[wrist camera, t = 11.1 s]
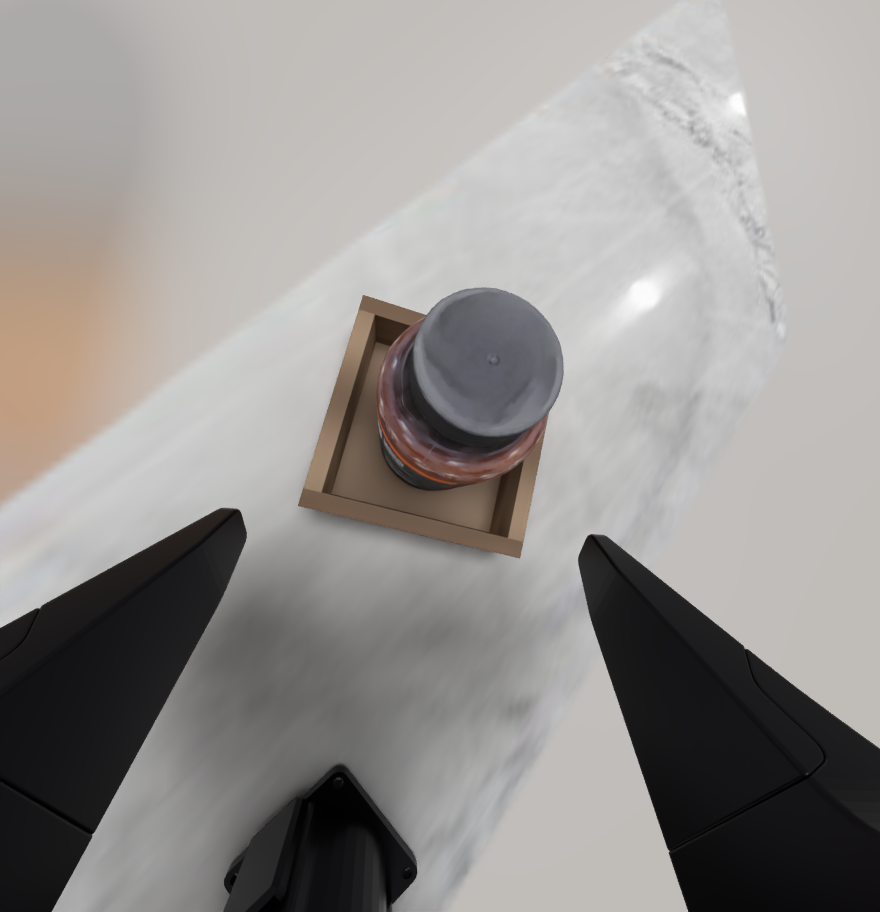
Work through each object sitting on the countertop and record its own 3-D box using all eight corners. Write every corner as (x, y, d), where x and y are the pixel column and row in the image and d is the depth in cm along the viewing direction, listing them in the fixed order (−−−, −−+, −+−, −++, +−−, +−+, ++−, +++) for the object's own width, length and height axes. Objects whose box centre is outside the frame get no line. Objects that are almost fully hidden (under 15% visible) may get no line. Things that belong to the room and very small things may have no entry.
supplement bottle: (496, 414, 20) (631, 313, 9) (459, 508, 19) (563, 518, 8) (404, 372, 20) (431, 209, 9) (361, 466, 19) (330, 417, 8)
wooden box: (496, 548, 20) (520, 558, 16) (313, 504, 19) (298, 505, 15) (531, 380, 22) (559, 358, 18) (366, 329, 20) (363, 294, 17)
